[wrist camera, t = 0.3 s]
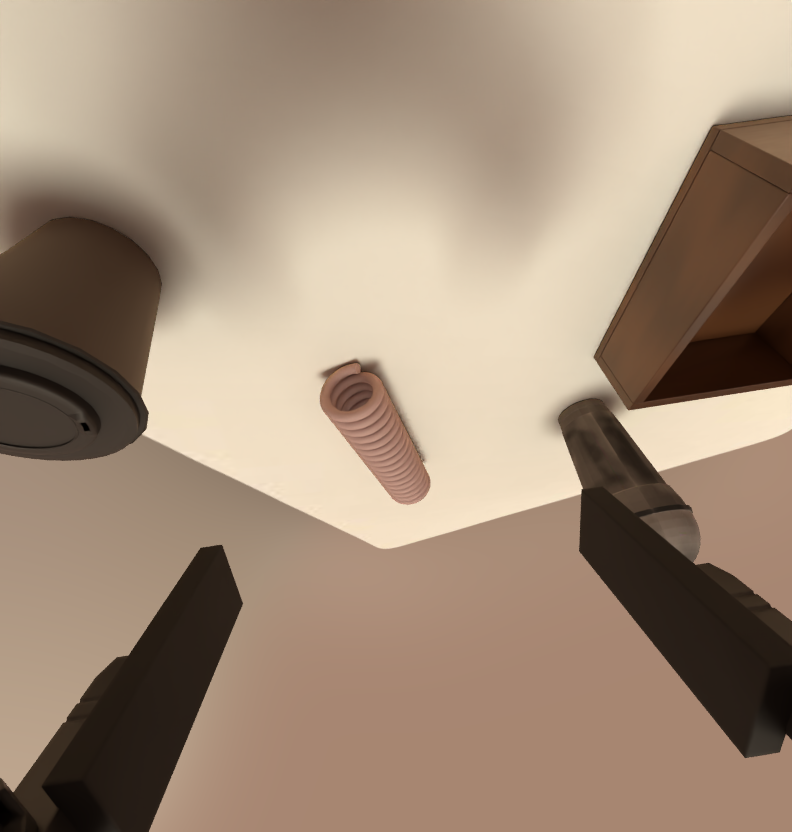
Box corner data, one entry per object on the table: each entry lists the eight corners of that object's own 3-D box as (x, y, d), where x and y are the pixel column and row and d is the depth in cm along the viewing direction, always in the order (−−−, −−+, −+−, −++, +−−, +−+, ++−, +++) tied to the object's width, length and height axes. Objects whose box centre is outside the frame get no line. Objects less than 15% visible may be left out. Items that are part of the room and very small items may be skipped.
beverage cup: (635, 393, 35) (798, 628, 23) (584, 435, 41) (695, 644, 29) (576, 385, 33) (724, 642, 21) (530, 431, 38) (627, 656, 26)
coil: (437, 498, 38) (384, 398, 24) (395, 513, 38) (319, 424, 24) (424, 461, 41) (371, 352, 27) (386, 475, 41) (312, 375, 27)
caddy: (712, 125, 18) (805, 171, 14) (979, 89, 18) (1131, 126, 15) (593, 357, 30) (628, 410, 27) (751, 333, 30) (805, 383, 27)
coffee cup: (220, 309, 22) (186, 451, 16) (103, 345, 23) (29, 492, 17) (101, 158, 15) (-31, 302, 9) (-57, 217, 16) (-268, 382, 10)
